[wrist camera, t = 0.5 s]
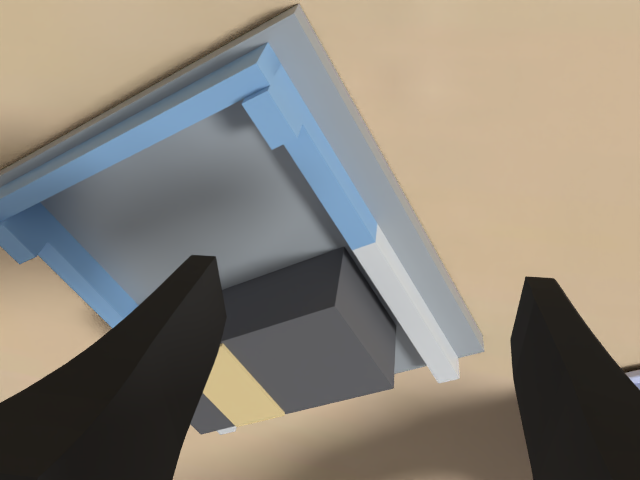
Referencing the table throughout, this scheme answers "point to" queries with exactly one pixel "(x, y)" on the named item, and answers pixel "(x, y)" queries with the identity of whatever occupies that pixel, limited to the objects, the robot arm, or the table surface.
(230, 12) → the table surface
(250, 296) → the block
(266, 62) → the tray
